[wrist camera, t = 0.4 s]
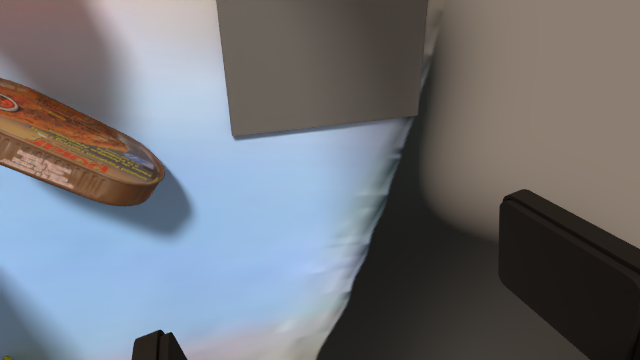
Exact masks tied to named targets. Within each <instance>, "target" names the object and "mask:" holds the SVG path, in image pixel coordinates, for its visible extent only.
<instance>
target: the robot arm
mask: <svg viewBox="0 0 640 360" xmlns="http://www.w3.org/2000/svg"><path fill="white" fill-rule="evenodd" d="M499 277H500V279H501V282H502V283H503V284H504V285H505V286H506V287H507V288H508V289H509V290H510V291H512V292H513V293H514V294H515V295H516V296H517V297H519V298H520V299H521V300H522V301H523V302H524V303H525V304H527V305H528V306H529V307H530V308H531V309H533V310H534V311H535V312H536V313H537V314H538V315H539V316H540V317H542V318H543V319H544V320H545V321H546V322H548V323H549V324H550V325H551V326H552V327H553V328H554V329H556V330H557V331H558V332H559V333H560V334H561V335H562V336H564V337H565V338H566V339H567V340H568V341H569V342H570V343H572V344H573V345H574V346H575V347H576V348H577V349H579V350H580V351H581V352H582V353H583V354H584V355H586V356H587V357H588V358H589V359H590V360H640V249H639V248H636V247H635V246H633V245H631V244H629V243H627V242H625V241H623V240H622V239H619V238H617V237H616V236H614V235H612V234H610V233H608V232H606V231H605V230H603V229H601V228H599V227H597V226H595V225H593V224H591V223H589V222H588V221H586V220H584V219H582V218H580V217H578V216H576V215H574V214H573V213H571V212H569V211H567V210H565V209H563V208H561V207H559V206H557V205H556V204H554V203H552V202H550V201H548V200H546V199H544V198H542V197H540V196H539V195H537V194H535V193H533V192H531V191H529V190H526V189H523V190H520V191H517V192H514V193H512V194H509V195H507V196H505V197H504V199H503V203H501V205H500V214H499ZM132 360H187V358H186V357H185V355H184V353H183V351H182V349H181V347H180V346H179V344H178V342H177V340H176V338H175V336H174V335H173V333H171V332H170V333H167V334H164V332H163V331H162V330H158V331H155V332H153V333H150V334H147V335H145V336H142V337H140V338H137V339H136V340H135V342H134V347H133V354H132Z"/></svg>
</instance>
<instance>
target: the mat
mask: <svg viewBox="0 0 640 360" xmlns="http://www.w3.org/2000/svg"><path fill="white" fill-rule="evenodd" d="M216 2H217V11H218V19H219V28H220V36H221V45H222V53H223V62H224V70H225V79H226V87H227V96H228V104H229V113H230V122H231V130H232V136H241V135H250V134H258V133H267V132H276V131H285V130H294V129H303V128H312V127H321V126H330V125H339V124H348V123H357V122H366V121H375V120H384V119H393V118H402V117H410V116H418V107H419V95H420V84H421V72H422V61H423V49H424V38H425V26H426V15H427V3H428V0H216Z"/></svg>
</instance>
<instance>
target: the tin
mask: <svg viewBox="0 0 640 360" xmlns="http://www.w3.org/2000/svg"><path fill="white" fill-rule="evenodd" d="M0 165H2V166H5V167H8V168H10V169H13V170H15V171H18V172H20V173H23V174H25V175H28V176H31V177H33V178H36V179H38V180H41V181H43V182H46V183H49V184H51V185H54V186H57V187H59V188H62V189H65V190H67V191H70V192H72V193H75V194H78V195H80V196H83V197H85V198H88V199H91V200H93V201H97V202H100V203H104V204H108V205H114V206H133V205H138V204H141V203H143V202H144V201H146V200H147V199H148V198H149V197H150V195H151V194H152V193H153V191H154V189H155V188H156V186H157V185H158V183H159V182H160V181H161V180H162V179H163V178H164V174H165V173H164V168H163V166H162V164H161V162H160V161H159V160H158V158H157V157H156V156H155V155H154V154H153V153H152V152H151V151H150V150H149V149H148V148H146V147H145V146H144V145H142V144H141V143H139V142H138V141H136V140H135V139H133V138H131V137H129V136H127V135H125V134H123V133H121V132H119V131H117V130H115V129H113V128H111V127H109V126H107V125H105V124H103V123H101V122H99V121H97V120H95V119H92V118H90V117H88V116H86V115H84V114H82V113H80V112H78V111H76V110H74V109H72V108H70V107H68V106H66V105H64V104H62V103H60V102H58V101H56V100H53V99H51V98H49V97H47V96H45V95H43V94H41V93H39V92H37V91H35V90H33V89H30V88H28V87H26V86H23V85H20V84H18V83H15V82H12V81H9V80H6V79H2V78H0Z"/></svg>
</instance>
